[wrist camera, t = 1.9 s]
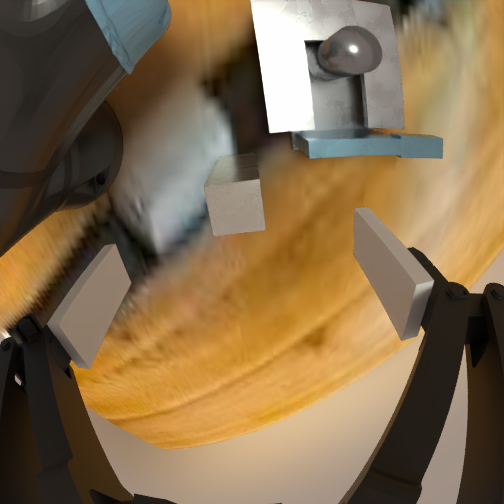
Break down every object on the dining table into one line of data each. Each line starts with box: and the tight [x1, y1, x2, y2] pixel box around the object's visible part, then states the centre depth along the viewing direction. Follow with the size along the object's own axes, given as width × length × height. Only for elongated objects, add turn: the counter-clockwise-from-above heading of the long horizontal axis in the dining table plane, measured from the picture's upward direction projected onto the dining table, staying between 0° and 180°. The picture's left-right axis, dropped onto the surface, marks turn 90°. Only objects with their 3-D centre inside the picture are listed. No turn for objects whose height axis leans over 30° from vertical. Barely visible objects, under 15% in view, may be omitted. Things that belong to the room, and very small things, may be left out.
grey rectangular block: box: [204, 152, 266, 236], centre depth 26 cm, size 4×4×12 cm
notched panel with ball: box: [250, 0, 443, 159], centre depth 20 cm, size 16×16×11 cm
